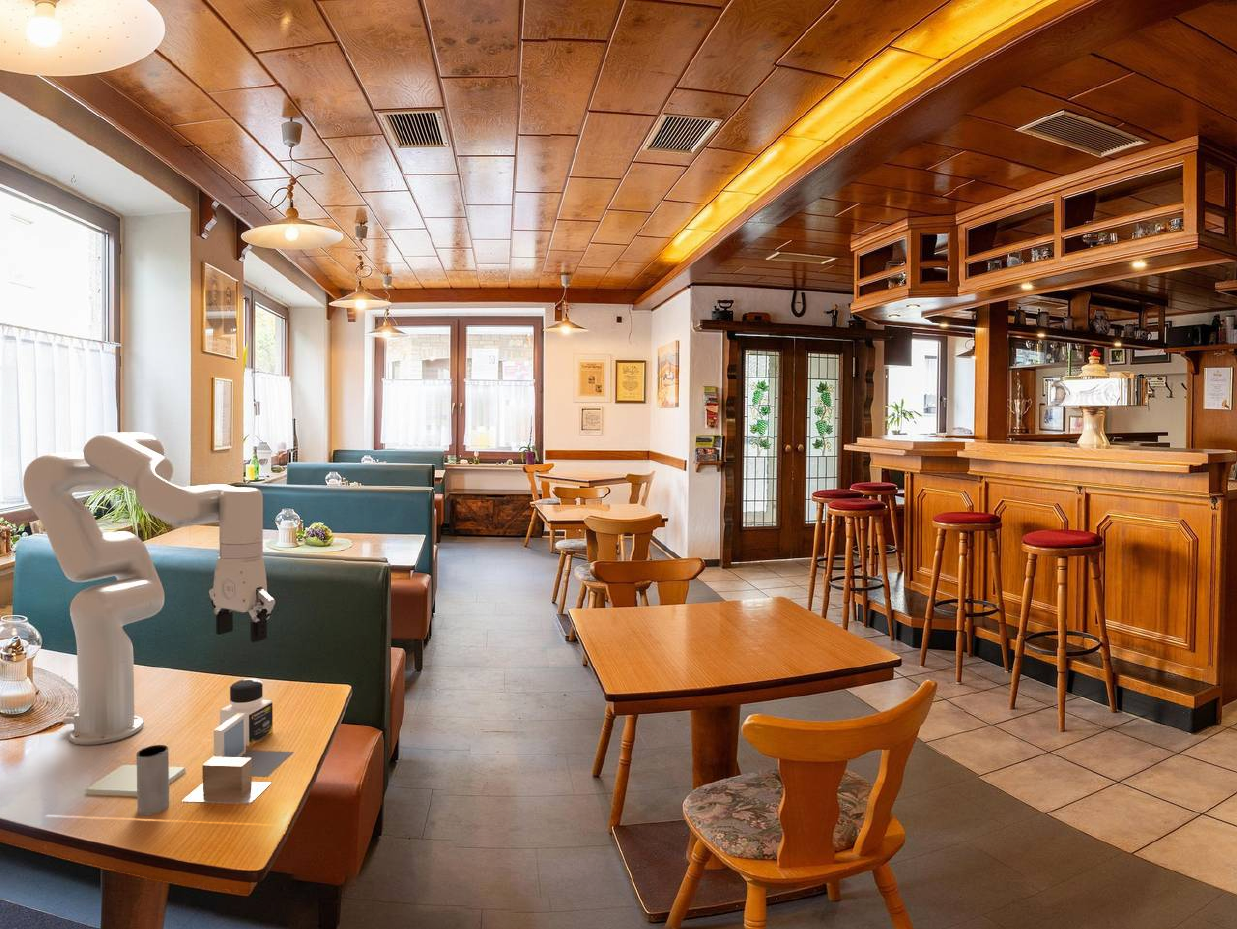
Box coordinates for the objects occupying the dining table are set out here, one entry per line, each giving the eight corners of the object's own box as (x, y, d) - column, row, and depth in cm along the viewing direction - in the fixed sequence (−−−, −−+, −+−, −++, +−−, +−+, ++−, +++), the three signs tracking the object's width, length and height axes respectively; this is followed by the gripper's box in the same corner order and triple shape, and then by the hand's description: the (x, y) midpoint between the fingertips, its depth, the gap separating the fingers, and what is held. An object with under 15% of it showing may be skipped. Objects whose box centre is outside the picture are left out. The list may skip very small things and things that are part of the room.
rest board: (85, 795, 126) (85, 789, 126) (123, 771, 135) (123, 764, 135) (152, 798, 125) (152, 791, 125) (185, 773, 134) (185, 767, 134)
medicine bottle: (249, 747, 146) (249, 689, 145) (219, 743, 147) (218, 686, 146) (273, 732, 153) (273, 677, 152) (244, 729, 154) (243, 674, 153)
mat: (204, 775, 134) (204, 774, 134) (235, 751, 144) (235, 749, 144) (267, 778, 133) (267, 776, 133) (293, 753, 143) (293, 752, 143)
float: (182, 805, 124) (181, 769, 124) (206, 784, 131) (205, 751, 131) (250, 807, 124) (250, 772, 123) (271, 787, 131) (270, 753, 130)
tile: (214, 771, 135) (213, 730, 134) (238, 752, 143) (238, 713, 142) (222, 772, 135) (222, 730, 134) (246, 752, 143) (245, 713, 142)
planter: (147, 802, 124) (146, 744, 123) (174, 802, 124) (173, 744, 124) (131, 817, 119) (130, 757, 119) (160, 816, 120) (159, 756, 119)
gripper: (193, 549, 140) (194, 635, 141) (255, 558, 133) (255, 648, 134) (228, 543, 147) (228, 625, 148) (289, 552, 140) (288, 638, 141)
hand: (241, 636), depth 141 cm, fingers open, 9 cm apart
